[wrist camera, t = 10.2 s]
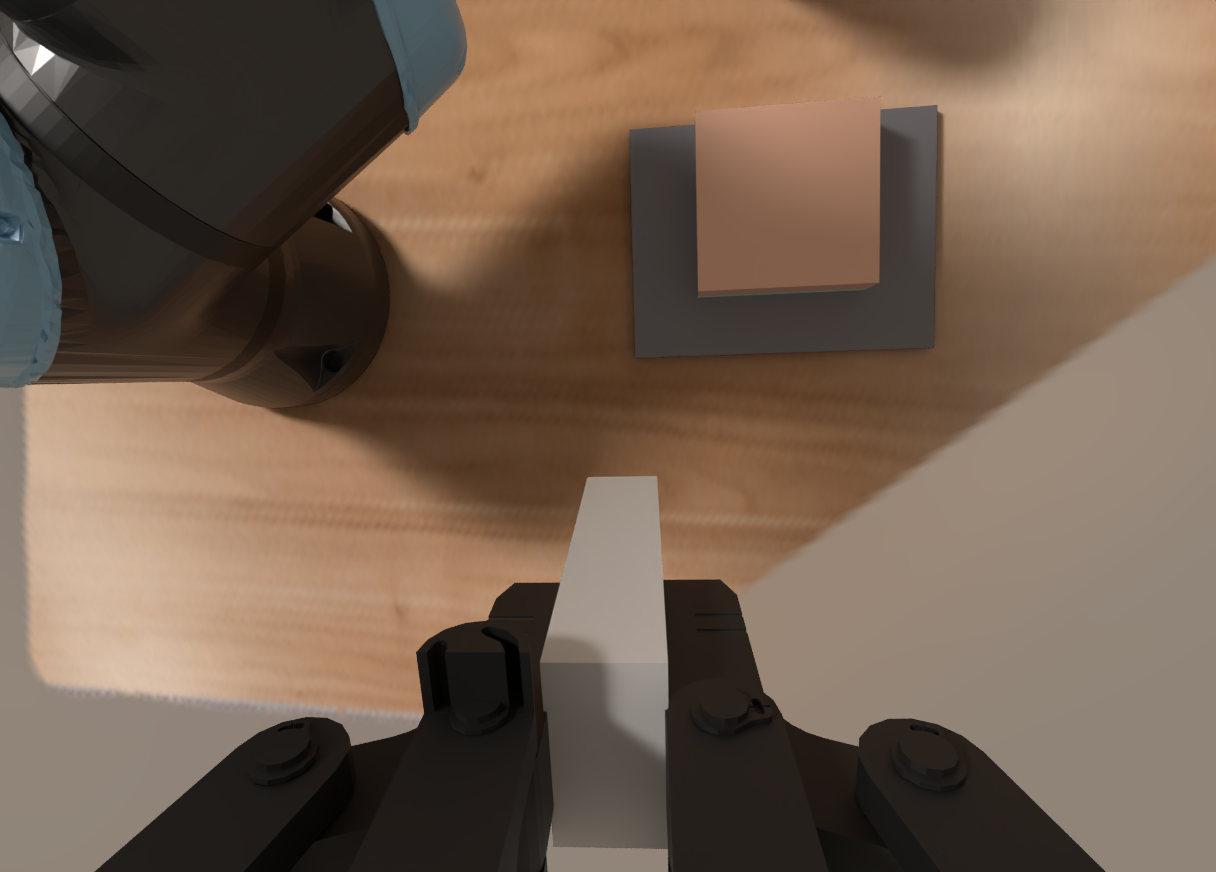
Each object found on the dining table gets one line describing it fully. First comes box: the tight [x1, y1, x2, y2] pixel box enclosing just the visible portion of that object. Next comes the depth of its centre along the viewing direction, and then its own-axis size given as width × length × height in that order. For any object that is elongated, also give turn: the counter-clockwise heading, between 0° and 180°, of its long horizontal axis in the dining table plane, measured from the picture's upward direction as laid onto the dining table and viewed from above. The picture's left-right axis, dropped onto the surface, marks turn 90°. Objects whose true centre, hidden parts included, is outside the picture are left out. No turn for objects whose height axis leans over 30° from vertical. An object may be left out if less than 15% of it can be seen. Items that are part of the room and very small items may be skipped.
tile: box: [695, 96, 881, 298], centre depth 37 cm, size 10×3×10 cm
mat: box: [629, 105, 937, 358], centre depth 39 cm, size 18×14×1 cm
